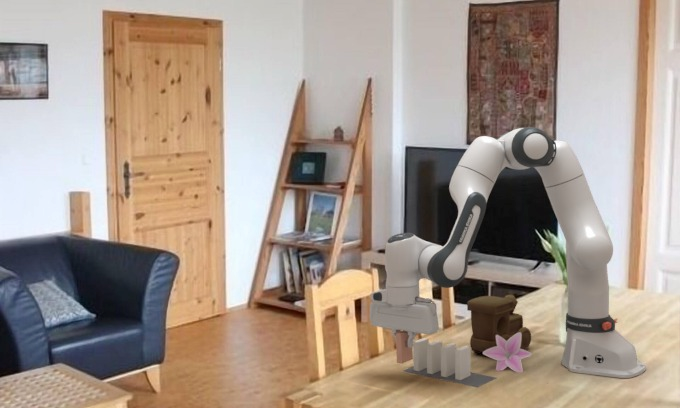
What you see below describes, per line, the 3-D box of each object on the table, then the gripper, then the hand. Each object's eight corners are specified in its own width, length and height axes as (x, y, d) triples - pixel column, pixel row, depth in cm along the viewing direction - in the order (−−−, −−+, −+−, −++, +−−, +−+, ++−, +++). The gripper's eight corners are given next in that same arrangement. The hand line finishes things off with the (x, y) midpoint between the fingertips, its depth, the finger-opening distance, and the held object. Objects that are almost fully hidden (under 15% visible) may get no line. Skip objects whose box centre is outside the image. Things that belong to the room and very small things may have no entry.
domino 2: (428, 366, 256) (428, 338, 255) (418, 371, 253) (418, 342, 252) (423, 365, 257) (423, 337, 256) (413, 370, 254) (413, 341, 253)
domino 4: (456, 372, 251) (456, 343, 250) (446, 377, 247) (445, 347, 246) (451, 371, 252) (451, 342, 251) (441, 376, 248) (440, 346, 247)
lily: (477, 372, 257) (479, 347, 251) (498, 347, 264) (501, 323, 258) (515, 391, 251) (519, 366, 245) (535, 365, 258) (539, 341, 252)
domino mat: (497, 379, 246) (497, 377, 245) (477, 389, 238) (477, 387, 238) (422, 364, 261) (422, 362, 261) (401, 373, 253) (401, 371, 253)
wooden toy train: (497, 363, 261) (497, 305, 259) (464, 356, 269) (464, 300, 267) (534, 348, 276) (535, 293, 274) (502, 341, 283) (502, 288, 281)
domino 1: (412, 359, 247) (411, 329, 246) (401, 363, 244) (400, 333, 243) (407, 358, 248) (406, 329, 247) (396, 362, 245) (395, 333, 244)
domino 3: (442, 369, 254) (442, 341, 253) (432, 374, 250) (431, 345, 249) (437, 368, 255) (437, 340, 254) (427, 373, 251) (426, 344, 250)
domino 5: (470, 375, 248) (470, 346, 247) (460, 380, 244) (460, 350, 243) (465, 374, 249) (465, 345, 248) (455, 379, 245) (455, 349, 244)
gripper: (442, 297, 240) (443, 349, 241) (379, 289, 253) (381, 338, 254) (428, 301, 235) (430, 354, 236) (365, 293, 248) (367, 343, 249)
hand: (404, 346), depth 245 cm, fingers closed on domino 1, 2 cm apart
